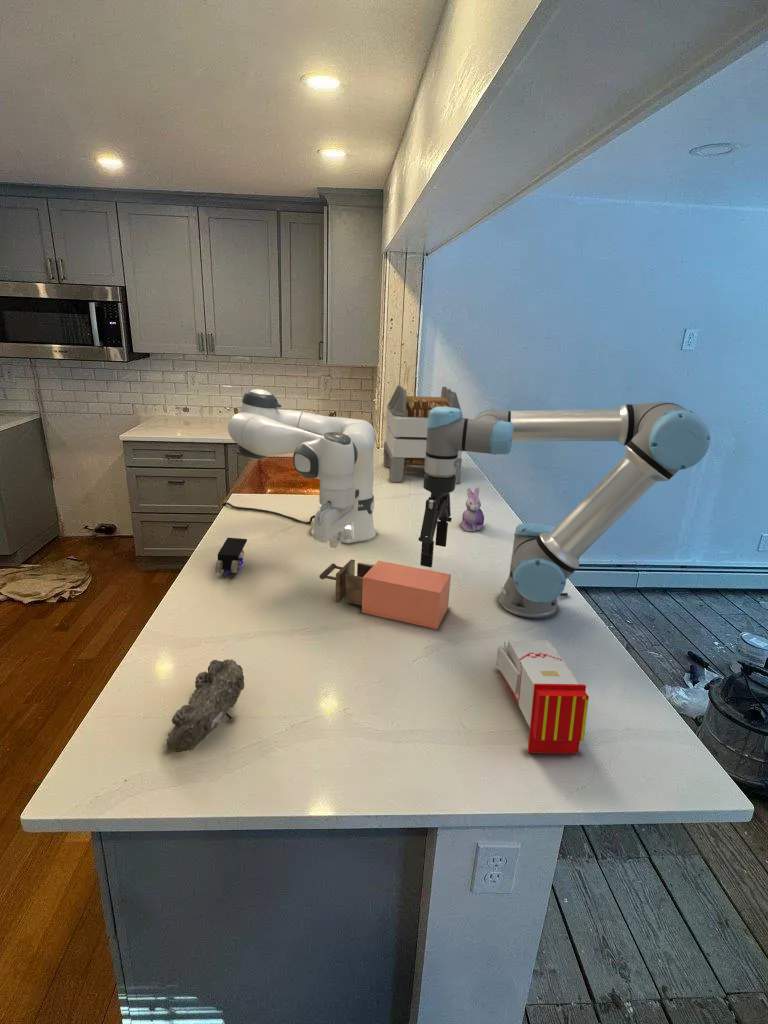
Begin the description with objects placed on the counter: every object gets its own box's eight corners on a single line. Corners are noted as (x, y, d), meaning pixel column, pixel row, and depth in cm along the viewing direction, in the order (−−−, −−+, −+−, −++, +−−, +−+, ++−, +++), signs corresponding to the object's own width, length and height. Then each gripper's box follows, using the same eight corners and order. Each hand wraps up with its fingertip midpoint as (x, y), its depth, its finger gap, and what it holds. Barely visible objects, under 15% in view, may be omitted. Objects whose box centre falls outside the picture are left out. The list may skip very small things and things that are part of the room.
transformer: (382, 463, 289) (386, 382, 275) (445, 464, 293) (451, 384, 279) (390, 482, 257) (394, 392, 243) (460, 483, 261) (468, 394, 247)
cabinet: (361, 612, 148) (362, 577, 144) (376, 593, 157) (378, 560, 154) (437, 629, 141) (440, 592, 138) (447, 608, 151) (451, 574, 148)
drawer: (317, 598, 152) (317, 569, 149) (332, 582, 161) (333, 555, 158) (404, 617, 144) (405, 588, 141) (415, 600, 153) (417, 572, 150)
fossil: (192, 660, 117) (244, 628, 112) (224, 691, 120) (276, 661, 115) (142, 746, 98) (202, 712, 93) (182, 779, 101) (242, 748, 96)
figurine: (470, 533, 202) (474, 493, 197) (453, 524, 211) (457, 485, 206) (491, 530, 207) (495, 491, 202) (474, 520, 215) (478, 483, 210)
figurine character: (238, 584, 162) (249, 557, 175) (236, 562, 158) (247, 536, 172) (215, 584, 161) (227, 556, 175) (212, 561, 158) (225, 535, 171)
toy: (545, 623, 127) (598, 692, 98) (539, 677, 130) (590, 761, 101) (491, 622, 127) (529, 691, 98) (487, 677, 130) (522, 760, 100)
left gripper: (330, 510, 136) (329, 563, 140) (362, 487, 154) (361, 535, 159) (306, 506, 138) (307, 558, 142) (341, 484, 156) (340, 531, 160)
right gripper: (442, 489, 122) (435, 578, 129) (466, 463, 144) (459, 540, 151) (409, 485, 124) (403, 572, 132) (438, 459, 147) (432, 535, 154)
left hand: (335, 545), depth 151 cm, fingers closed
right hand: (433, 555), depth 142 cm, fingers open, 13 cm apart
